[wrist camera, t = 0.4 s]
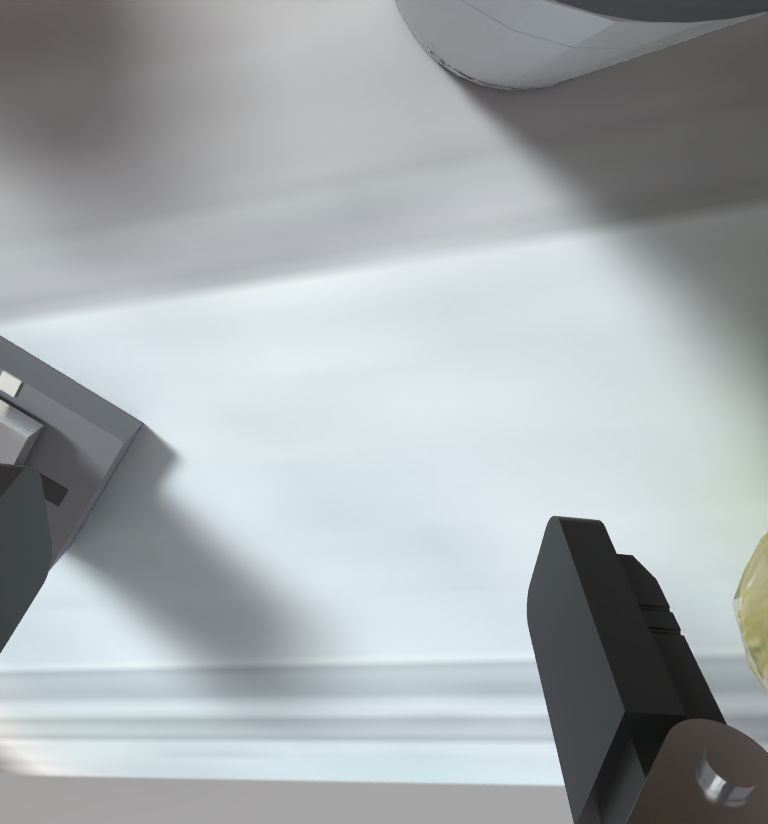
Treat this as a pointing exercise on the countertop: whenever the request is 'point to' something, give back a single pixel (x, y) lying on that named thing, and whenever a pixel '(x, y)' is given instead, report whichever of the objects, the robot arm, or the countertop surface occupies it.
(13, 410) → the fader tab
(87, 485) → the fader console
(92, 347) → the countertop surface
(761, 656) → the lettuce
